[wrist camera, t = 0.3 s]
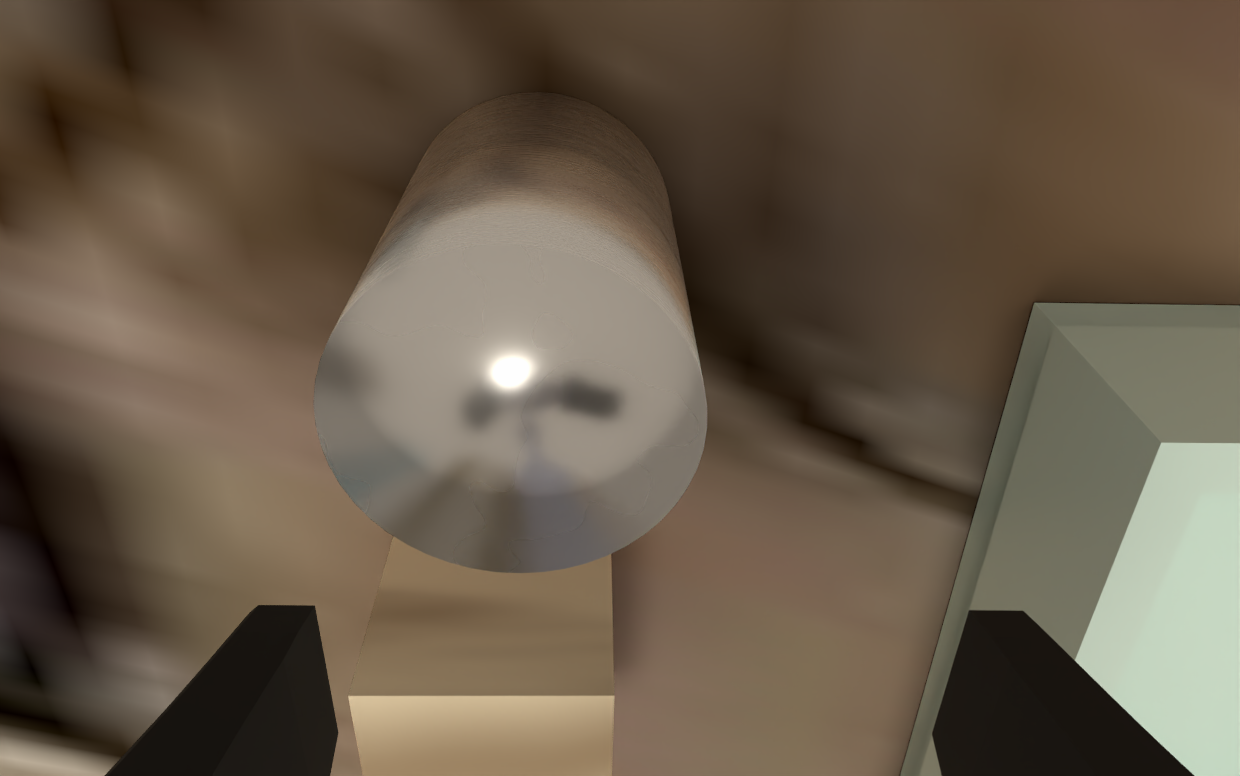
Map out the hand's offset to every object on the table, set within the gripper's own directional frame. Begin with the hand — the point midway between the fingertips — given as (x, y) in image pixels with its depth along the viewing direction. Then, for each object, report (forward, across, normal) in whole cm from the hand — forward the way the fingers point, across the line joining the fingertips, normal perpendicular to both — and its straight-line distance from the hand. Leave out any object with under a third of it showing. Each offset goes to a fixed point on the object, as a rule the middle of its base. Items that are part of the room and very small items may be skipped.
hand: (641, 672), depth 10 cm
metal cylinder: (+10, +2, -2) cm, 10 cm away
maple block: (+10, +3, +8) cm, 13 cm away
